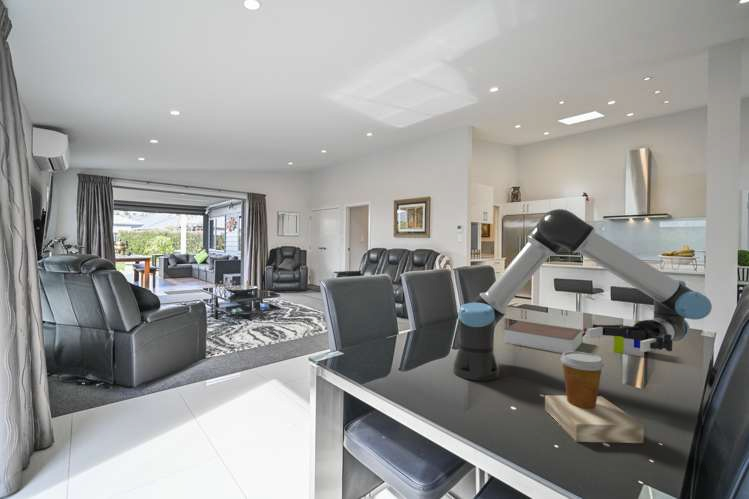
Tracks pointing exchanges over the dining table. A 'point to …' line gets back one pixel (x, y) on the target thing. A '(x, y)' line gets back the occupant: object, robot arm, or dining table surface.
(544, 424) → the dining table surface
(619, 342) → the puzzle toy
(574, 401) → the disposable coffee cup
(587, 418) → the wooden base block
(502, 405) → the dining table surface
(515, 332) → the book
